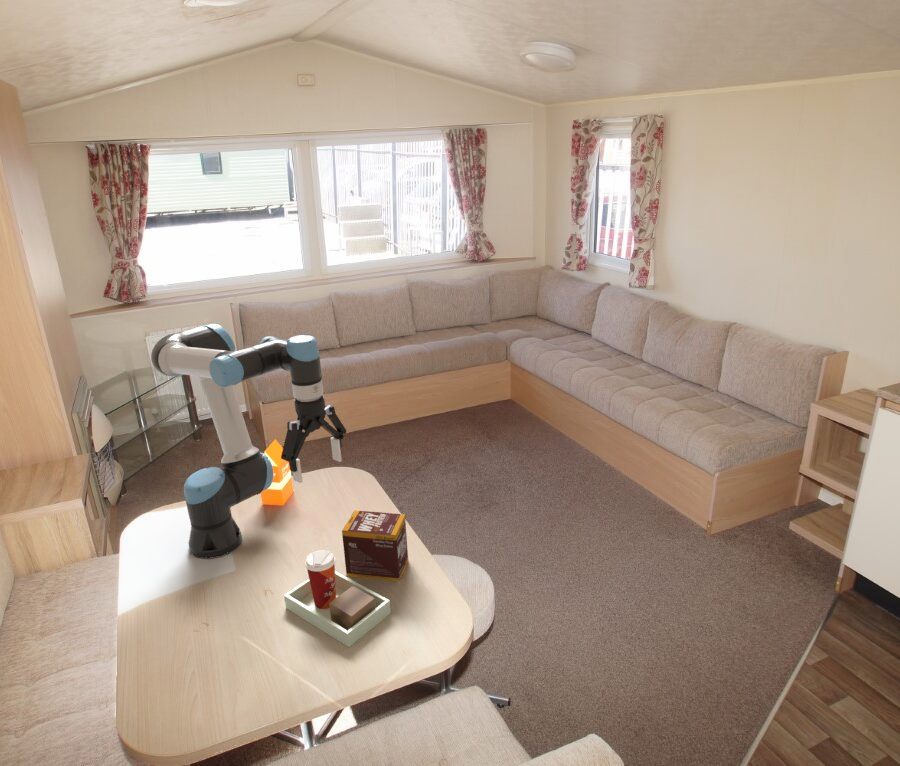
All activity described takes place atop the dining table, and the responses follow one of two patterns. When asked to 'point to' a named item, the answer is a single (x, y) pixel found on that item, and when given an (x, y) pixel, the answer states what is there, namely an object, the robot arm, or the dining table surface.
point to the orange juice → (278, 477)
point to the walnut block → (351, 607)
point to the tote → (305, 607)
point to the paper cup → (322, 577)
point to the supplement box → (375, 545)
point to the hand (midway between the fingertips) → (318, 470)
